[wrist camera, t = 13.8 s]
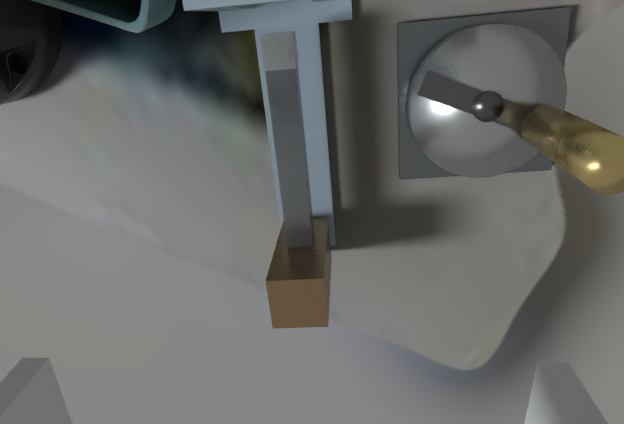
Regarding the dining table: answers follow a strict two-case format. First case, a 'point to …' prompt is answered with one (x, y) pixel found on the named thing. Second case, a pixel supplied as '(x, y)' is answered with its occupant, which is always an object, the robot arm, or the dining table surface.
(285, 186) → the post in wooden base
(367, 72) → the dining table surface
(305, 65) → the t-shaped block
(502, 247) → the dining table surface
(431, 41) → the wheel stand
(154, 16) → the flower pot
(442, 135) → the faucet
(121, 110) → the dining table surface
